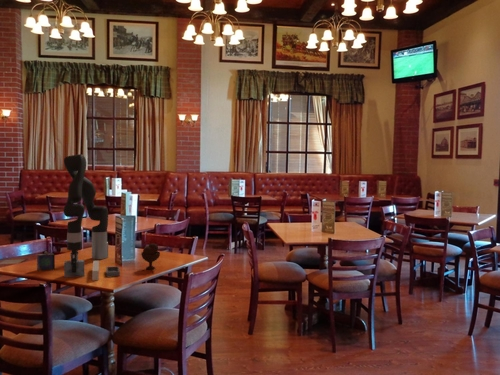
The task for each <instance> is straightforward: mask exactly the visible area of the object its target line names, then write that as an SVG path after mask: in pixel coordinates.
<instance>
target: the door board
mask: <svg viewBox="0 0 500 375" xmlns="http://www.w3.org/2000/svg"><path fill="white" fill-rule="evenodd" d="M92 262H93V264H92V277H91V278H92V281H99V276H100V274H99V273H100V260H93V261H92Z"/></svg>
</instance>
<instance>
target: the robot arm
mask: <svg viewBox="0 0 500 375" xmlns="http://www.w3.org/2000/svg"><path fill="white" fill-rule="evenodd" d="M63 163H64V167H65V169H66V171H67V172H68V174H69V176H70V177H71V179H72V180H71V182H70V184H69V186H68V189H67V190H68V191H67V200H66V203H65V205H64V207H63V215H64V216H65V217H67V218H74V217H76V219H75V220H71V221H68V222H67V231H66V232H67V233H66V249H67V250H68V251H70V254H69V255H70V261H71V265H72V273H76V265H77V261H78V260H79V250H82V249H83V247H82V246H83V243H82V242H83V235H82V222H83V217H84V214H85V211H87V214H88V217H89V219H90V220H92V221H95V222H96V221H98V222H99V224H97V225H95V226H92V227H91V259H93V260H104V259H108V258H109V242H108V226H109V225H108V224H109V210H108V207H107V206H102V205H99V206H97V205H95V203H94V199H95V197H96V193H97V191H96V188H95V186H94V183H93V182H92V181H91V180H90V179H88V178H87V177H86V176H85V175H86V170H87V160H86V157H85V155H84V154H80V153H79V154H74V155H67V156H66V157H64V159H63ZM81 201H83V203H84V204H82V203H79V202H81ZM73 262H75V263H73Z"/></svg>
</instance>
